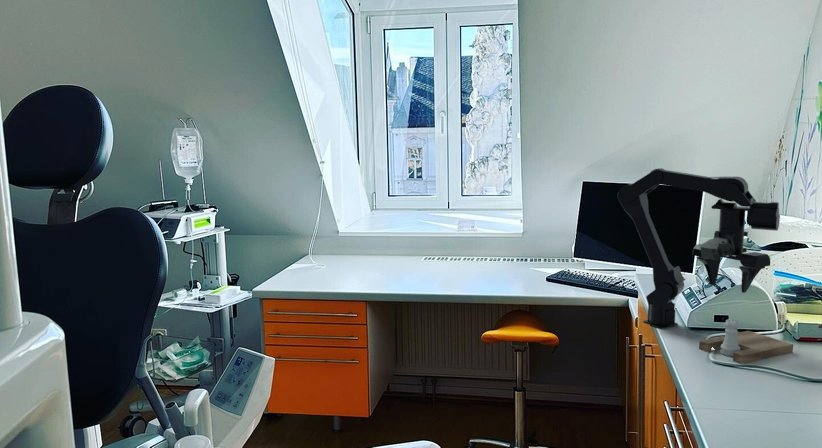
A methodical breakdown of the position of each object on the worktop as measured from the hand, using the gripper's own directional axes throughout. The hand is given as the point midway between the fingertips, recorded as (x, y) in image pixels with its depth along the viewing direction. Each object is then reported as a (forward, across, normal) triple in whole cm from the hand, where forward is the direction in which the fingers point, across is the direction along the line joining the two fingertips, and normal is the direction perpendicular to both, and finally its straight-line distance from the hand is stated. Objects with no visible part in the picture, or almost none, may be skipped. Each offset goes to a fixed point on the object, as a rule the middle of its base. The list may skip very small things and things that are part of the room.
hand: (728, 288), depth 173 cm
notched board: (+12, +11, -6) cm, 17 cm away
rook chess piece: (+12, +11, -11) cm, 20 cm away
